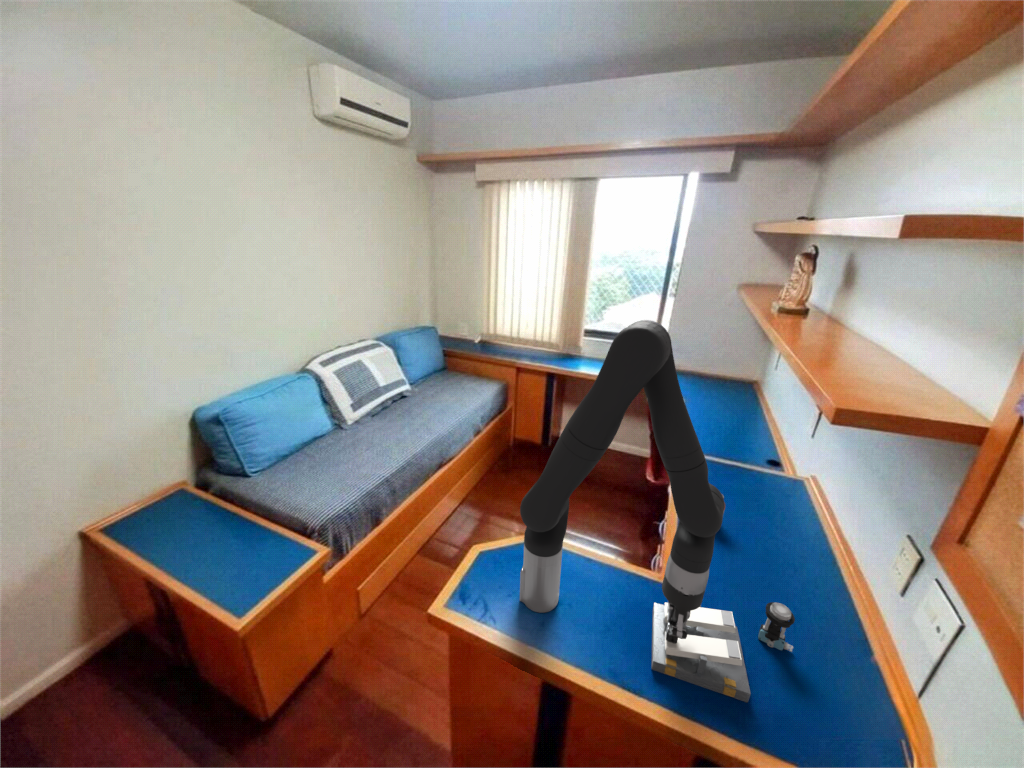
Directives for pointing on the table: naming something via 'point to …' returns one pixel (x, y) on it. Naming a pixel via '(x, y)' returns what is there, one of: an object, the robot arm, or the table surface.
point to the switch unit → (699, 661)
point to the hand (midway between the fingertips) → (670, 639)
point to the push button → (776, 626)
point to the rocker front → (706, 649)
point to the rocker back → (709, 619)
